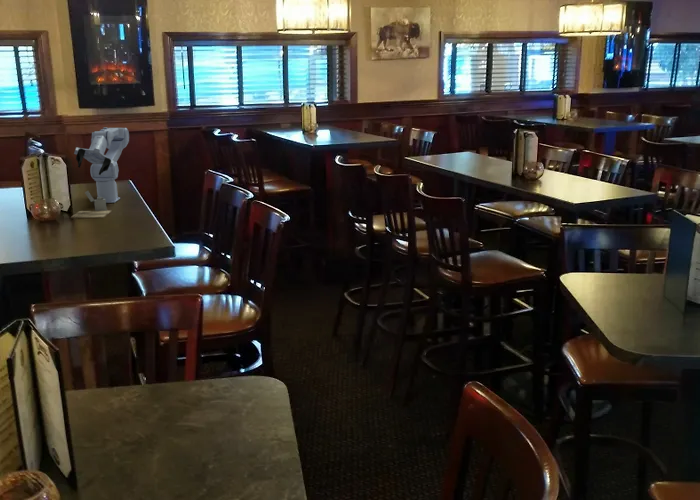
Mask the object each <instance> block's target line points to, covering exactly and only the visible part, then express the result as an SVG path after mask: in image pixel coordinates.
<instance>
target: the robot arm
mask: <svg viewBox="0 0 700 500" xmlns="http://www.w3.org/2000/svg"><path fill="white" fill-rule="evenodd" d="M129 143H130V132H129V129H128V128H127V127H102V129H99V131H98V130H97V131H94V132H93V131H92V132H91V139H90V146H89V148H81V147H75V150H74V151H73V152H74V153H73V154H74V155H76V156H75V160H76V161H77V168H81V166H82V163H83V159H85V160H87V161H88V162H89V163H91V165H90V167H89V168H90V169H89V170H90V171H89V172H90V176H91V178H92V179H93V180H94V182H95V183H96V184H95V186H96V193H97V197H103V199H106V204H110V203H111V204H113V203H116V202H118V201H119V200H121V197H119V194H118V185H117V182H116V181H115V180H116V179H118V177H119V171H120V170H119V166H118V165H119V164H118V160H119V159H120V157H121V155H122V151H123V150H124V149H125V148H126V147H127V146H128V144H129ZM107 149H108V150H107ZM106 150H107V152H106ZM105 152H106V153H105Z"/></svg>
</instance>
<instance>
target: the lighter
mask: <svg viewBox="0 0 700 500" xmlns="http://www.w3.org/2000/svg"><path fill="white" fill-rule="evenodd" d="M84 194H85V195H86V197H87V198H88V200H89V202H90V203H92V202H93V204H94V211H105V210H108V208H107V203H106V199H103V197H98V196H97V197H96V199H95V198H94V197H93V196H92V194H91V193H90V191H89V190H87V191H85V192H84Z"/></svg>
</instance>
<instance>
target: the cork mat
mask: <svg viewBox="0 0 700 500" xmlns="http://www.w3.org/2000/svg"><path fill="white" fill-rule="evenodd" d="M112 212H113V211H112V210H111V209H109V210H108V209H107V210H105V211H95V210H79V211H77V212H76V213H75V214H73V215H72V216H70V219H94V218H95V219H97V218H98V219H99V218H100V219H102V218H105V217H107V215H109V214H110V213H112Z"/></svg>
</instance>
